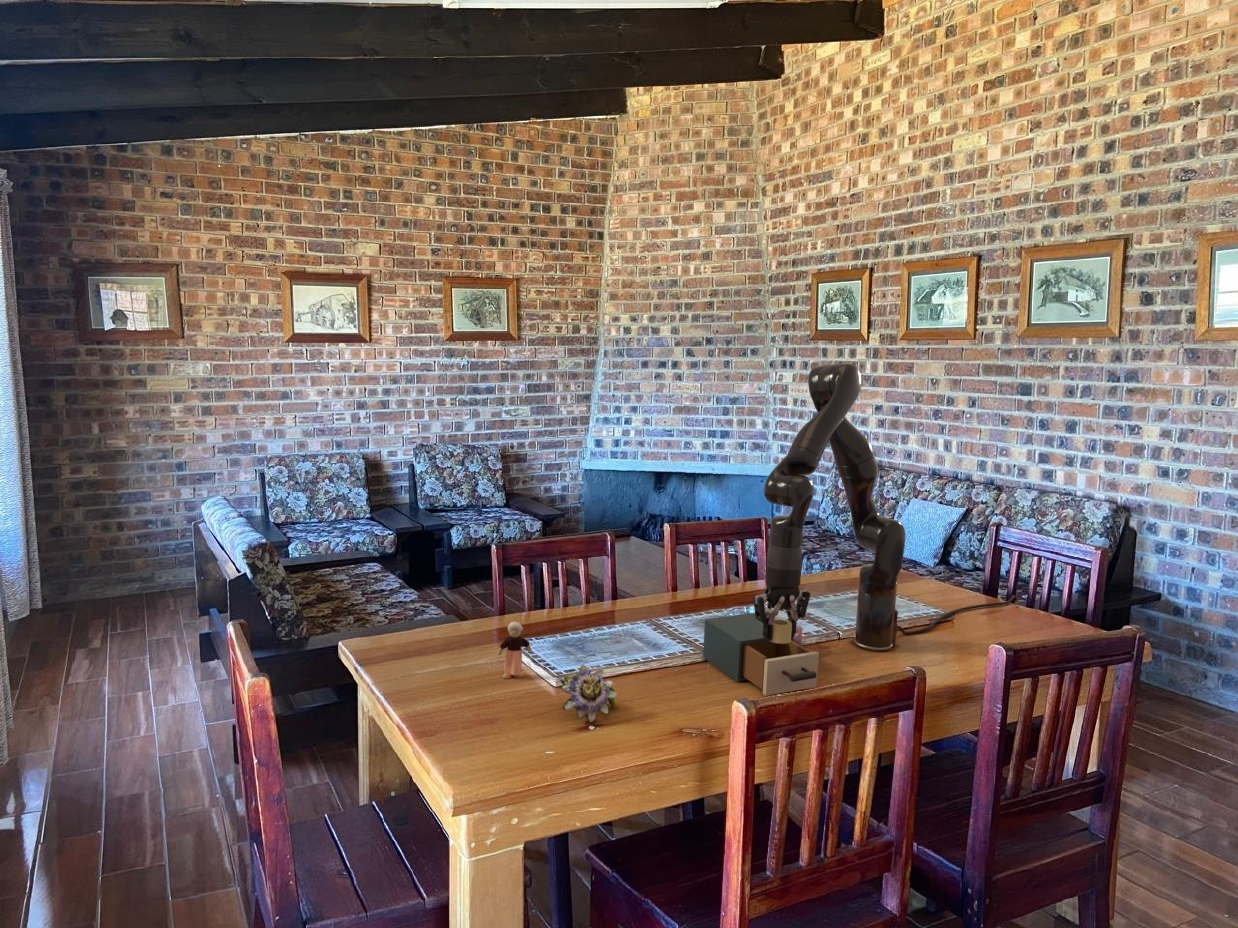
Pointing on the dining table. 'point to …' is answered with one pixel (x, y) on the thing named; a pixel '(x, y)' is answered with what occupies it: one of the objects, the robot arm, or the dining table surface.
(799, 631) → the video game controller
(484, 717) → the dining table surface
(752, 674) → the drawer
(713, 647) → the cabinet
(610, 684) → the passion flower
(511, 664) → the grandmother figurine
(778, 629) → the tape
